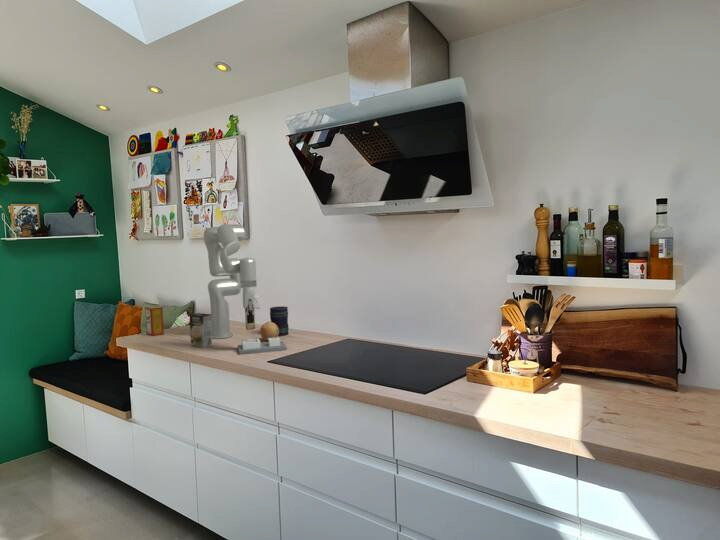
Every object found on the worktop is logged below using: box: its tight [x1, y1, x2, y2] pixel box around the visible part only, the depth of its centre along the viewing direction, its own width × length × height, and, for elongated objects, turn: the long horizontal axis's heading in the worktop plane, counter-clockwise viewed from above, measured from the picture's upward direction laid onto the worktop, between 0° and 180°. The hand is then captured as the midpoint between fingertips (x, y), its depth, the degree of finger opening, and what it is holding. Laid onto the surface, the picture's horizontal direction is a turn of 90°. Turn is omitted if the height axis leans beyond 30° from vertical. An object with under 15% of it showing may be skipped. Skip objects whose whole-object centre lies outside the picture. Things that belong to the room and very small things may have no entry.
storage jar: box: [269, 305, 290, 337], centre depth 278 cm, size 10×10×15 cm
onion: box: [259, 321, 279, 342], centre depth 263 cm, size 10×10×10 cm
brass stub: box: [244, 307, 256, 331], centre depth 241 cm, size 4×4×10 cm
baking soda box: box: [144, 305, 165, 337], centre depth 289 cm, size 10×6×16 cm
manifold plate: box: [237, 336, 288, 355], centre depth 244 cm, size 14×22×4 cm, turn 107°
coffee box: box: [189, 312, 213, 349], centre depth 255 cm, size 9×6×16 cm
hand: (250, 321), depth 241 cm, fingers closed on brass stub, 4 cm apart
